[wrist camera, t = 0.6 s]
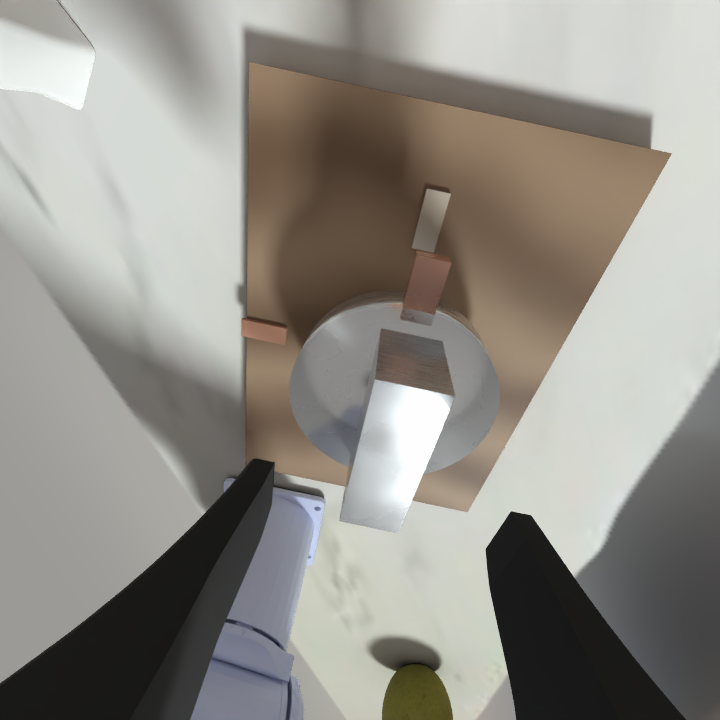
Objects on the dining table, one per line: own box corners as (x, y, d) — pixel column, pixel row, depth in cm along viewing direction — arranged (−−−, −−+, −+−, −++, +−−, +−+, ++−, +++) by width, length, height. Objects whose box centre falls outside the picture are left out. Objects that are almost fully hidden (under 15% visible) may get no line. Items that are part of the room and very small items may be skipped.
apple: (371, 663, 42) (365, 749, 36) (421, 650, 39) (425, 742, 33) (410, 685, 44) (412, 769, 38) (461, 674, 41) (472, 764, 35)
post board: (464, 497, 25) (472, 536, 22) (249, 452, 25) (231, 486, 22) (651, 153, 14) (709, 152, 11) (255, 68, 14) (221, 46, 11)
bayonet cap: (452, 462, 19) (470, 563, 14) (293, 428, 19) (257, 518, 14) (543, 270, 13) (623, 332, 8) (315, 221, 13) (268, 256, 8)
